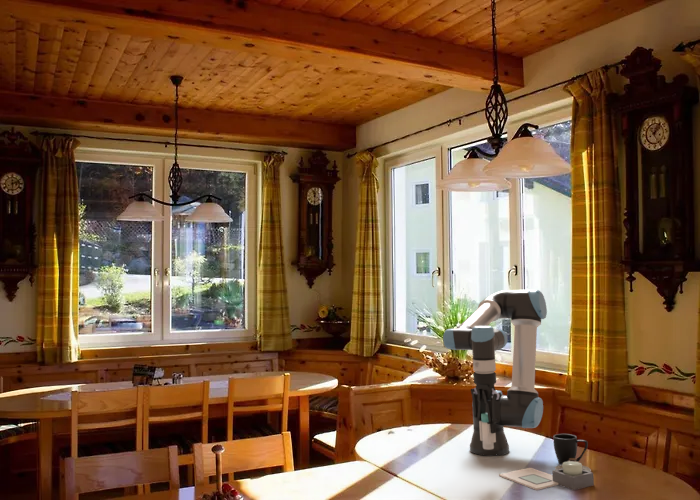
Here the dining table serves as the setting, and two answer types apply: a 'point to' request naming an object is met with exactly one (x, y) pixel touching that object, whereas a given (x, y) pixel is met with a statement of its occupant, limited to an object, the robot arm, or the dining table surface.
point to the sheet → (531, 478)
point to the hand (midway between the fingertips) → (487, 441)
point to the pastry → (573, 461)
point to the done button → (572, 468)
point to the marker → (485, 432)
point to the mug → (567, 447)
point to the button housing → (573, 479)
